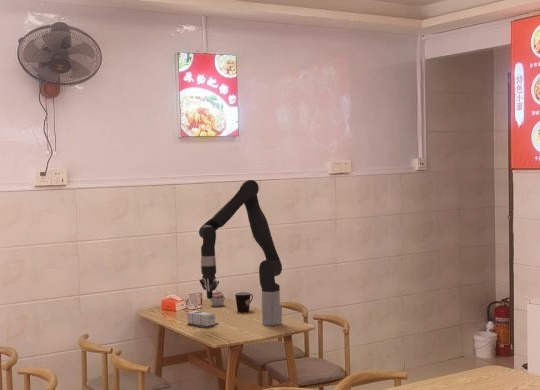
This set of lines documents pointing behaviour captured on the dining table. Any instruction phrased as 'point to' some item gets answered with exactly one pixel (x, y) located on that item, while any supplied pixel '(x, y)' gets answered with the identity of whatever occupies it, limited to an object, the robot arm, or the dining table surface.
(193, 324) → the mat
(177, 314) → the dining table surface
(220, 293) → the cupcake
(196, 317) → the syrup box
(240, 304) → the coffee mug
